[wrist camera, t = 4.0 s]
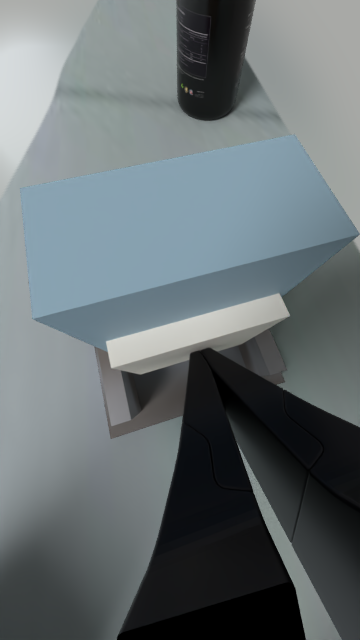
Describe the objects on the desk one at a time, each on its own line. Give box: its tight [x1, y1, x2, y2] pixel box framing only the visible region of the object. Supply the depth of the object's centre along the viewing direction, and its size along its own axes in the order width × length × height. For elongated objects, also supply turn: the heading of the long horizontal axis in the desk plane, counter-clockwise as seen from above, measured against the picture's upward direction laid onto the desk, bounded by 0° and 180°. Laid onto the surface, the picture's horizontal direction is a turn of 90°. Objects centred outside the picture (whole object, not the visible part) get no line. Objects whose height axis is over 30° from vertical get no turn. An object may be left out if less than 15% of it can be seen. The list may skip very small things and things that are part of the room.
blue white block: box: [20, 135, 359, 375], centre depth 9 cm, size 4×6×11 cm, turn 106°
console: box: [94, 328, 287, 439], centre depth 12 cm, size 13×12×8 cm
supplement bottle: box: [176, 0, 256, 120], centre depth 19 cm, size 7×7×12 cm
